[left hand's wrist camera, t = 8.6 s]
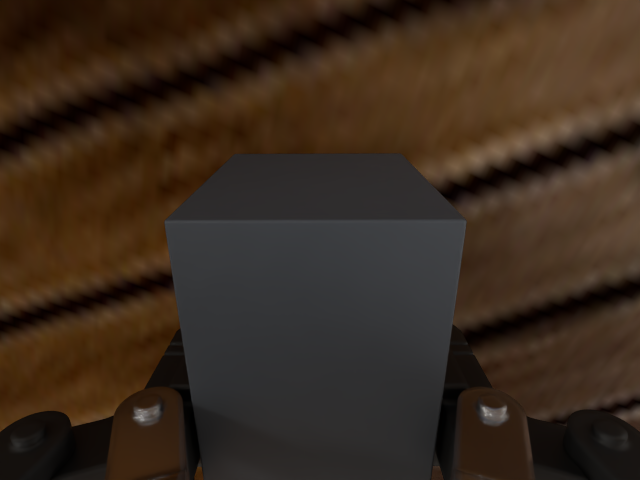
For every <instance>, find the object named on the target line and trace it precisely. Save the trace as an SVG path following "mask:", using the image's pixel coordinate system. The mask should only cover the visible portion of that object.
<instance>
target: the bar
mask: <svg viewBox="0 0 640 480" xmlns="http://www.w3.org/2000/svg"><path fill="white" fill-rule="evenodd" d="M164 223H165V229H166V236H167V242H168V249H169V255H170V262H171V269H172V275H173V282H174V288H175V295H176V301H177V308H178V314H179V321H180V327H181V334H182V340H183V347H184V353H185V360H186V366H187V373H188V379H189V386H190V392H191V399H192V405H193V412H194V419H195V425H196V432H197V438H198V445H199V451H200V458H201V464H202V471H203V477H204V480H431V476H432V468H433V461H434V454H435V447H436V439H437V432H438V425H439V418H440V411H441V403H442V396H443V389H444V382H445V374H446V367H447V360H448V353H449V346H450V338H451V331H452V324H453V317H454V309H455V302H456V295H457V288H458V280H459V273H460V266H461V259H462V252H463V244H464V237H465V230H466V223H467V222H466V219H465V218H464V217H463V216H462V215H461V214H460V213H459V212H458V211H457V210H456V209H455V208H454V207H453V206H452V205H451V204H450V203H449V202H448V201H447V200H446V199H445V198H444V197H443V196H442V195H441V194H440V193H439V192H438V191H437V190H436V189H435V188H434V187H433V186H432V185H431V184H430V183H429V182H428V181H427V180H426V179H425V178H424V177H423V176H422V175H421V174H420V173H419V171H418V170H417V169H416V168H415V167H414V166H413V165H412V164H411V163H410V162H409V161H408V160H407V159H406V158H405V157H404V156H403V155H402V154H234V155H233V156H232V157H231V158H230V159H229V160H228V161H227V162H226V163H225V164H224V165H223V166H222V167H221V168H220V169H219V170H217V171H216V172H215V173H214V174H213V175H212V176H211V177H210V178H209V179H208V180H207V181H206V182H205V183H204V184H203V185H202V186H201V187H200V188H199V189H198V190H196V191H195V192H194V193H193V194H192V195H191V196H190V197H189V198H188V199H187V200H186V201H185V202H184V203H183V204H182V205H181V206H180V207H179V208H178V209H177V210H175V211H174V212H173V213H172V214H171V215H170V216H169V217H168V218H167V219H166V220H165V222H164Z"/></svg>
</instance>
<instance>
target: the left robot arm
mask: <svg viewBox="0 0 640 480" xmlns="http://www.w3.org/2000/svg"><path fill="white" fill-rule="evenodd" d="M433 466H440V468H441V471H442V475H443V478H444V480H640V432H639V431H638V430H636V429H635V428H634V427H633V426H631V425H630V424H628V423H627V422H625V421H623V420H621V419H619V418H618V417H615V416H613V415H611V414H608V413H605V412H601V411H596V410H579V411H576V412H574V413H573V414H572V415H571V416H570V417H569V420H568V423H567V427H566V426H562V425H558V424H554V423H549V422H545V421H541V420H537V419H533V418H530V417H527V416H526V413H525V411H524V409H523V408H522V406H521V405H520V404H519V403H518V402H517V401H516V400H515V399H513V398H512V397H511V396H509V395H508V394H506V393H504V392H502V391H499V390H496V389H493V388H492V386H491V384H490V382H489V381H488V379H487V377H486V375H485V373H484V372H483V370H482V368H481V366H480V364H479V363H478V361H477V359H476V357H475V355H473V352H472V350H471V348H470V346H469V345H467V341H466V339H465V337H464V336H463V334H462V332H461V331H460V330H459V329H458V328H457V327H455V326H454V325H453V324H452V331H451V338H450V346H449V353H448V360H447V367H446V374H445V382H444V389H443V396H442V403H441V411H440V418H439V425H438V432H437V439H436V447H435V454H434V461H433ZM197 467H202V464H201V458H200V451H199V445H198V438H197V432H196V425H195V419H194V412H193V405H192V399H191V392H190V386H189V379H188V373H187V366H186V360H185V353H184V347H183V340H182V334H181V328H180V329H179V330H178V331H177V332H176V334H175V336H174V337H173V339H172V341H171V343H170V346H168V348H167V350H166V351H165V355H164V356H163V357H162V359H161V360H160V362H159V364H158V366H157V367H156V369H155V371H154V373H153V374H152V376H151V378H150V380H149V382H148V383H147V385H146V387H145V389H144V390H141V391H138V392H136V393H134V394H133V395H131V396H129V397H128V398H127V399H125V400H124V401H123V402H122V403H121V404H120V405H119V406H118V408H117V409H116V411H115V414H114V416H111V417H109V418H106V419H102V420H99V421H95V422H90V423H86V424H82V425H78V426H74V427H72V426H71V423H70V420H69V418H68V416H67V415H65V414H64V413H61V412H58V411H45V412H39V413H35V414H32V415H29V416H26V417H24V418H21V419H20V420H18V421H16V422H14V423H12V424H11V425H9V426H8V427H6V428H5V429H4V430H2V431H1V432H0V480H194V476H195V473H196V469H197Z"/></svg>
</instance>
